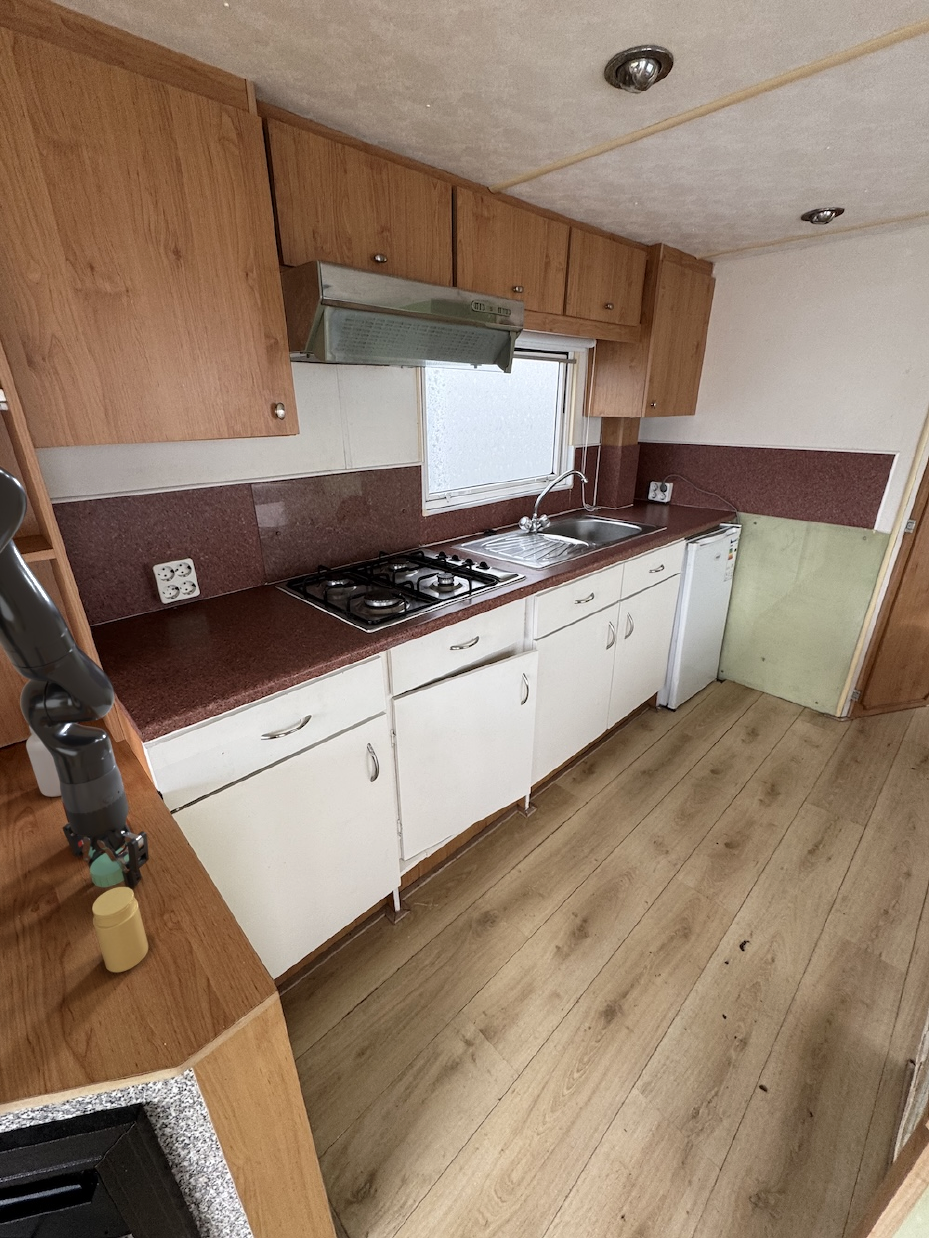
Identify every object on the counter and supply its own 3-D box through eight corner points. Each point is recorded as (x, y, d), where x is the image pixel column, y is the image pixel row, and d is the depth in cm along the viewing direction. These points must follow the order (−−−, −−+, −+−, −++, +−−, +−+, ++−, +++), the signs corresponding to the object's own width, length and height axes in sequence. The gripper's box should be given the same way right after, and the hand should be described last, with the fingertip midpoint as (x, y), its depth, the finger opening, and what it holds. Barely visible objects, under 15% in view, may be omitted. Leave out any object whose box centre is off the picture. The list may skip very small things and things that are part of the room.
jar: (127, 976, 72) (112, 921, 69) (95, 967, 73) (79, 912, 70) (157, 942, 77) (144, 889, 73) (126, 934, 78) (113, 881, 75)
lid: (116, 855, 90) (113, 844, 89) (145, 862, 88) (142, 850, 87) (83, 883, 84) (79, 871, 83) (114, 890, 82) (110, 879, 82)
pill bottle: (35, 785, 109) (16, 720, 104) (82, 768, 114) (66, 706, 109) (45, 803, 104) (25, 736, 99) (93, 784, 109) (76, 720, 104)
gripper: (153, 787, 83) (172, 872, 88) (78, 771, 86) (101, 854, 92) (112, 820, 76) (135, 909, 82) (32, 801, 79) (60, 888, 85)
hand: (117, 880), depth 87 cm, fingers closed on lid, 6 cm apart
